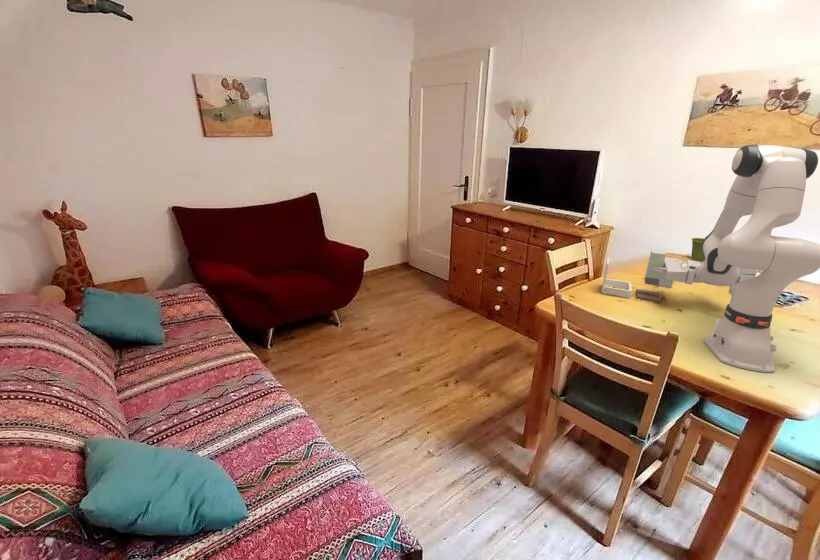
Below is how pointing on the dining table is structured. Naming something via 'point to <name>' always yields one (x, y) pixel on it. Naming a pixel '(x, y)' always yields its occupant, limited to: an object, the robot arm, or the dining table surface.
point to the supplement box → (664, 281)
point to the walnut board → (648, 295)
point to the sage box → (654, 260)
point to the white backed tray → (616, 284)
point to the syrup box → (744, 276)
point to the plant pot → (697, 249)
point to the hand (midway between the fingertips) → (651, 266)
